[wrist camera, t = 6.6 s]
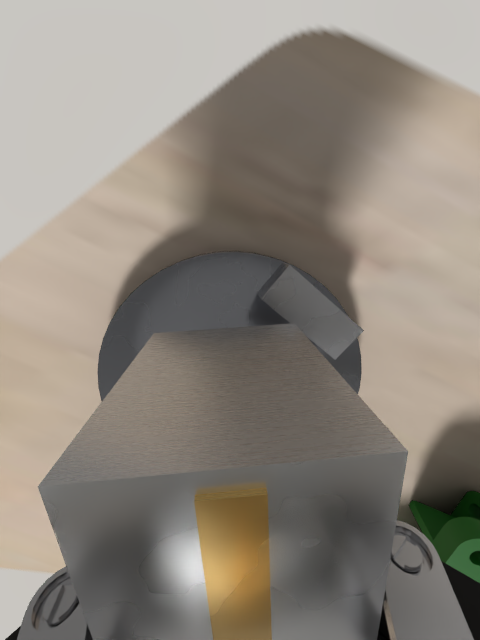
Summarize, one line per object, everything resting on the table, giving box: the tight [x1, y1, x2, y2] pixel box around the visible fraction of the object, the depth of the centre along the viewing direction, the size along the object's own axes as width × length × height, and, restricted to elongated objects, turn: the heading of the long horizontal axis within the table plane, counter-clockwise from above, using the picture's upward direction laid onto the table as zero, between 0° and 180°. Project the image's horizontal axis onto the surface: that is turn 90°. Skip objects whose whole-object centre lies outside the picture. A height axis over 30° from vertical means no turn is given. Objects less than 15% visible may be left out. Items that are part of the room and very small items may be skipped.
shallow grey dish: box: [98, 251, 364, 401], centre depth 15 cm, size 15×15×3 cm
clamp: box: [409, 491, 480, 583], centre depth 19 cm, size 12×6×9 cm, turn 155°
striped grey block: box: [38, 323, 408, 640], centre depth 8 cm, size 5×10×6 cm, turn 3°
